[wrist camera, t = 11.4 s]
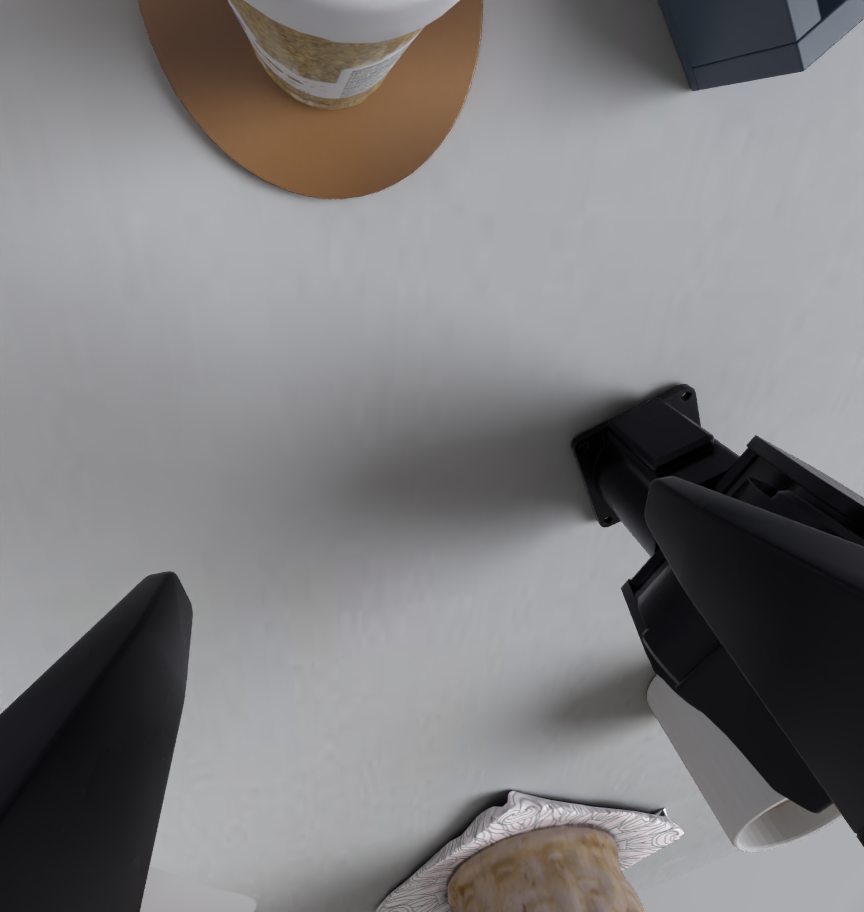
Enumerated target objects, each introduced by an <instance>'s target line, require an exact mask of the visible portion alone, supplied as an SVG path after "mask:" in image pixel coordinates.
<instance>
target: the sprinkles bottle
mask: <svg viewBox="0 0 864 912" xmlns="http://www.w3.org/2000/svg"><path fill="white" fill-rule="evenodd" d="M459 1H460V0H228V2H229V4H230V6H231V8H232V10H233V11H234V13H235V15H236V17H237V19H238V20H239V22H240V24H241V25H242V27H243V29H244V31H245V33H246V35H247V36H248V38H249V40H250V42H251V44H252V48H253V50H254V52H255V55H256V56H257V58H258V60H259V61H260V63H261V64H262V66H263V68H264V69H265V71H266V72H267V73H268V74H269V76H270V77H271V78H272V79H273V81H274V82H275V83H276V84H277V85H279V86H280V87H281V88H282V89H283V90H284V91H285V92H286V93H288V94H289V95H290V96H291V97H293V98H294V99H296V100H297V101H299V102H301V103H303V104H305V105H309V106H312V107H315V108H318V109H327V110H339V109H343V108H347V107H350V106H355V105H358V104H360V103H362V102H363V101H364V100H365V99H366V98H367V97H368V96H369V95H370V94H372V93H373V92H375V91H376V89H377V88H378V87H379V86H380V85H381V83H382V82H383V80H384V79H385V77H386V76H387V74H388V72H389V71H390V69H391V68H392V67H393V66H394V64H395V63H396V62H397V60H398V59H399V58H400V56H401V55H402V54H403V53H404V51H405V50H406V49H407V47H408V46H409V45H410V44H411V42H412V41H413V40H414V39H415V38H416V36H417V35H418V34H419V33H420V32H421V30H422V29H423V28H424V27H425V26H426V25H428V24H429V23H431V22H433V21H434V20H436V19H438V18H439V17H441V16H442V15H443V14H444V13H445V12H447V11H448V10H449V9H450V8H451V7H453V6H454V5H455V4H456V3H457V2H459Z"/></svg>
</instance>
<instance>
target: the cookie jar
mask: <svg viewBox="0 0 864 912" xmlns="http://www.w3.org/2000/svg"><path fill="white" fill-rule="evenodd" d="M683 834H684V832H683V830H682V829H681V828H680V827H679V826H677V825H676V824H675V823H673V822H672V821H671V820H670V819H669V817H668V815H667V814H666V809H663V811H662V812H661V813H660V815H659V816H658V815H653V814H648V813H642V812H637V811H630V810H621V809H611V808H601V807H591V806H585V805H580V804H572V803H566V802H560V801H554V800H548V799H544V798H540V797H536V796H532V795H527V794H523V793H519V792H516V791H511V792H509V794H508V802H507V803H506V804H505V805H504V806H503V807H495V806H493V807H491V808H489V809H487V810H485V811H484V812H482V813H481V814H480V815H478V816H477V817H476V819H475V820H474V821H473V822H472V824H471V825H470V826H469V827H468V828H467V830H466V831H465V832H464V833H463V834H462V835H461V836H459V837H458V838H456V839H454V840H452V841H450V842H449V843H448V844H446V845H445V846H444V847H443V848H442V849H441V850H440V851H438V852H437V853H436V854H435V855H434V856H433V857H432V858H431V859H430V860H429V861H427V862H426V863H425V864H424V865H423V866H422V867H421V868H420V869H419V870H418V871H416V872H415V873H414V874H413V875H412V876H411V877H410V878H409V879H408V880H406V881H405V882H404V883H403V884H401V885H400V886H399V887H398V888H396V889H395V890H394V891H393V892H392V893H390V894H389V895H388V896H387V897H386V898H385V899H384V900H383V902H382V903H381V904H380V905H379V907H378V908H377V910H376V912H645V910H644V908H643V905H642V903H641V901H640V898H639V896H638V894H637V893H636V891H635V890H634V888H633V887H632V886H631V884H630V883H629V881H628V880H627V879H626V877H625V876H624V875H623V873H622V870H625V869H627V868H628V867H630V866H632V865H634V864H635V863H636V862H637V861H640V860H641V859H643V858H645V857H646V856H648V855H651V854H653V853H655V852H656V851H658V850H659V849H661V848H664V847H665V846H666V845H668V844H670V843H672V842H675V841H676V840H678V839H679V838H680V837H681V836H682V835H683Z"/></svg>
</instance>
